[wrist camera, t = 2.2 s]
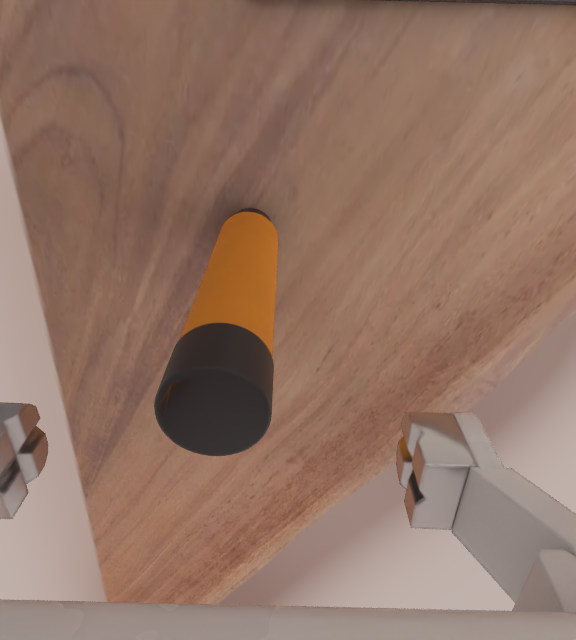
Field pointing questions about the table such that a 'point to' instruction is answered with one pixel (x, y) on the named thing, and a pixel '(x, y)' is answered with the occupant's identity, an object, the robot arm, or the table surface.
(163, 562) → the table surface
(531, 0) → the clipboard
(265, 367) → the marker
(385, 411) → the table surface
